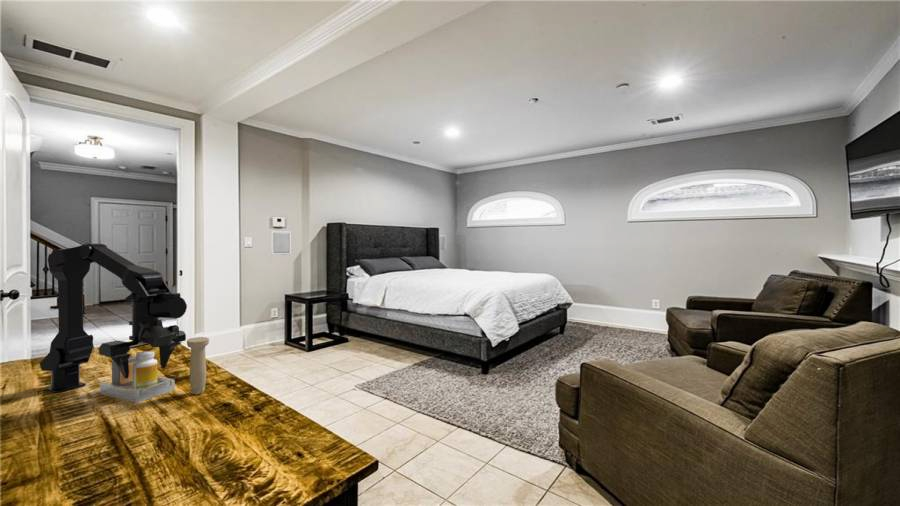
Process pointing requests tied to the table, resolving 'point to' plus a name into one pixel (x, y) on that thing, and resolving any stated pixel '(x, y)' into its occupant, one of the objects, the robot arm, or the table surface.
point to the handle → (197, 364)
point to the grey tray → (124, 386)
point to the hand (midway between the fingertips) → (145, 373)
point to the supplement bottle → (145, 370)
